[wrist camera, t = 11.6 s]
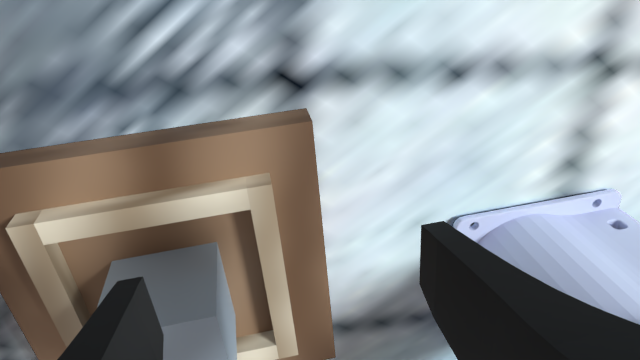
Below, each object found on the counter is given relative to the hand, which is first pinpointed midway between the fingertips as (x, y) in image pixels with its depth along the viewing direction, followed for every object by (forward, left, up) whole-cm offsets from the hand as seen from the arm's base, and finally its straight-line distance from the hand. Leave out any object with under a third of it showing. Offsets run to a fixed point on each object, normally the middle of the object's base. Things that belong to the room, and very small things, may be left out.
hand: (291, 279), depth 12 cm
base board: (+5, +6, -9) cm, 12 cm away
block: (+5, +6, -8) cm, 11 cm away
